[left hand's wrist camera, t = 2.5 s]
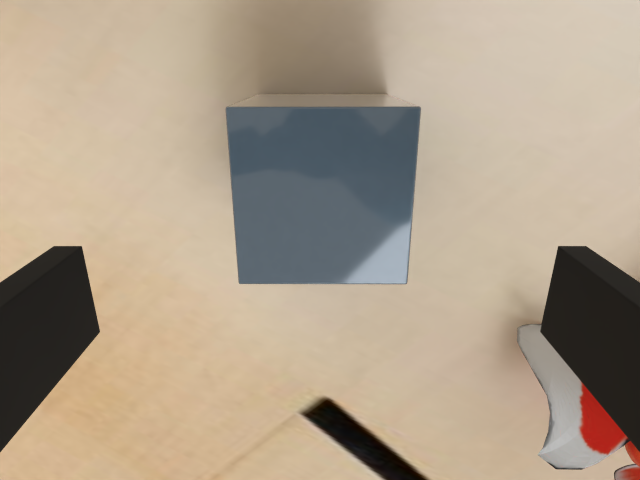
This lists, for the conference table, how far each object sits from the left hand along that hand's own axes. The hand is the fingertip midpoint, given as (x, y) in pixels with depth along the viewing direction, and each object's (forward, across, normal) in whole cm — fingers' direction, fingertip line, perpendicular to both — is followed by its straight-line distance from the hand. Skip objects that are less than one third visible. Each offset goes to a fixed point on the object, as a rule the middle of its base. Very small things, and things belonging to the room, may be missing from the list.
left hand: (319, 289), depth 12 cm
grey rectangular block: (+14, 0, +1) cm, 14 cm away
